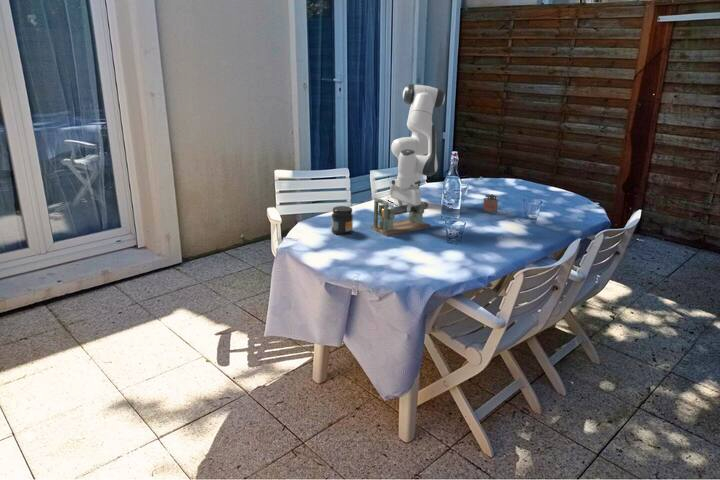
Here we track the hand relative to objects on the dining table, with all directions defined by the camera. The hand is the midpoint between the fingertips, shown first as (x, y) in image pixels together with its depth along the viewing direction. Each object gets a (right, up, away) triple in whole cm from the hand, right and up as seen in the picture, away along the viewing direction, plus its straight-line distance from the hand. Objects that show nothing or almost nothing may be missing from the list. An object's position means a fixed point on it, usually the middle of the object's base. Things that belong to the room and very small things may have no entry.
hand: (404, 209), depth 278 cm
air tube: (0, -1, +1) cm, 2 cm away
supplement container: (-31, -11, -5) cm, 34 cm away
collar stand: (-2, -9, +3) cm, 10 cm away
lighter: (+51, +1, +35) cm, 62 cm away
